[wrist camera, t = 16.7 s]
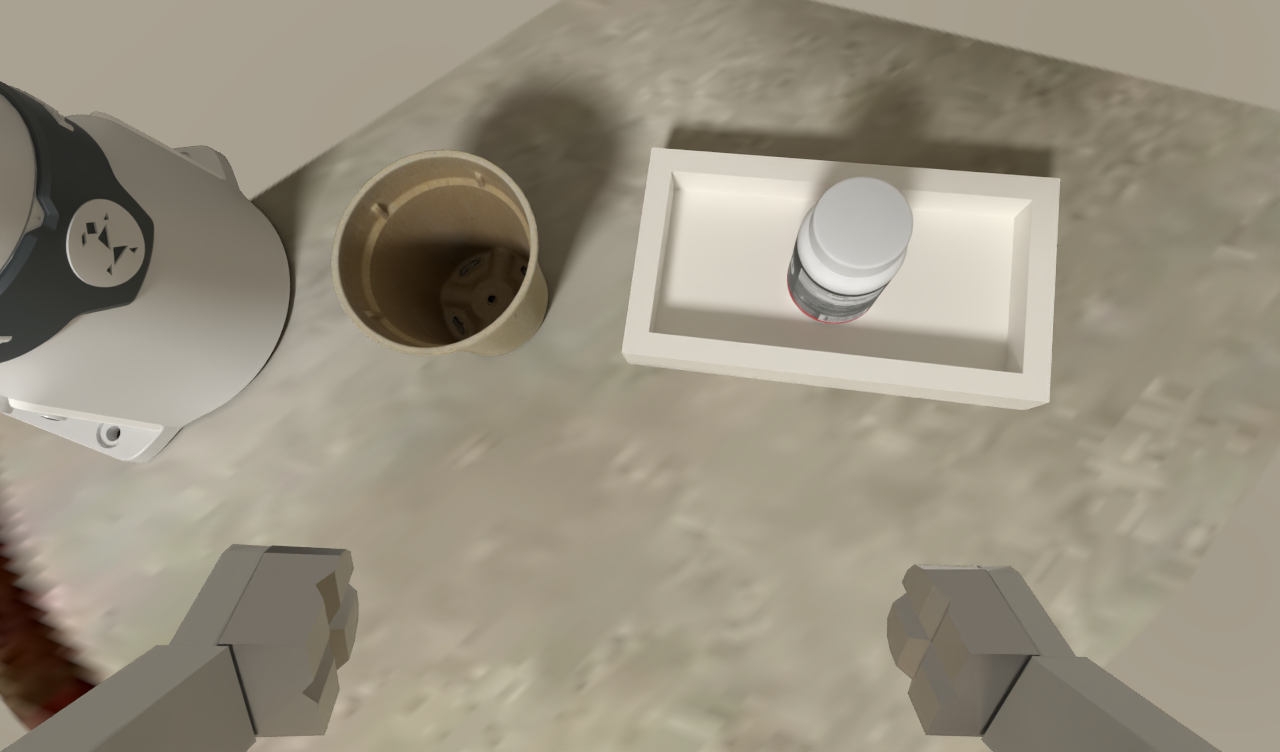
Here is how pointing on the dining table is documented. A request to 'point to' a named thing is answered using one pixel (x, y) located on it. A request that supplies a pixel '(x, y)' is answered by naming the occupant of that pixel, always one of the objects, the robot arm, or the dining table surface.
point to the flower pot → (440, 257)
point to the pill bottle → (849, 249)
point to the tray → (900, 317)
